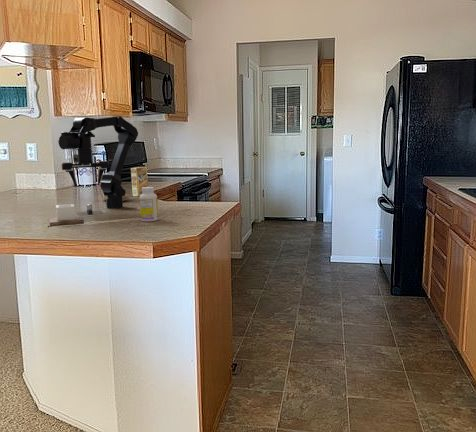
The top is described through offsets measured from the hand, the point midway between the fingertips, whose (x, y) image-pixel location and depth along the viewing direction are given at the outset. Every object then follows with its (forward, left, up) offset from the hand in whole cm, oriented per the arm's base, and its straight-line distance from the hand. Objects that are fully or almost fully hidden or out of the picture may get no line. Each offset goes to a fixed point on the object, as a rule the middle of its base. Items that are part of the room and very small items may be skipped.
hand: (87, 186), depth 201 cm
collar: (+10, +16, -10) cm, 22 cm away
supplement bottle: (-20, +27, -12) cm, 36 cm away
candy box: (-32, -53, -12) cm, 63 cm away
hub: (+10, +16, -12) cm, 22 cm away
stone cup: (-15, -37, -12) cm, 42 cm away
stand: (0, +3, -12) cm, 12 cm away
